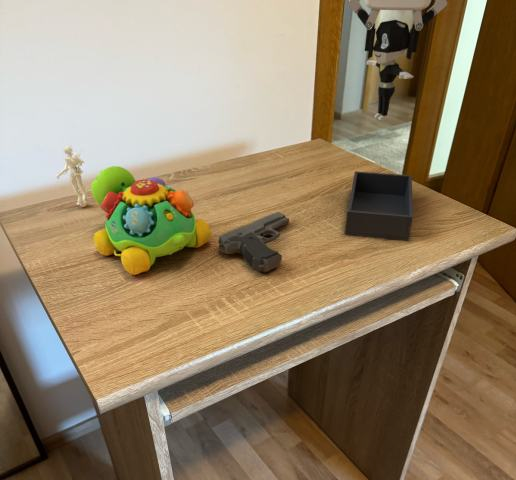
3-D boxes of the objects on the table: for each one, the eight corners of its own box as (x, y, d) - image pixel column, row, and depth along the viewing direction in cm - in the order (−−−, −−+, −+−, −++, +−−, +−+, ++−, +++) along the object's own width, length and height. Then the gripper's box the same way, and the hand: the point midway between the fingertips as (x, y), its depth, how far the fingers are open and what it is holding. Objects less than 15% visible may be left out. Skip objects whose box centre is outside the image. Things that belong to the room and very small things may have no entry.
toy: (349, 109, 93) (357, 15, 83) (377, 106, 94) (389, 13, 84) (384, 131, 83) (398, 27, 73) (415, 126, 84) (433, 24, 74)
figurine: (61, 205, 98) (43, 145, 90) (90, 198, 101) (75, 138, 93) (69, 215, 95) (51, 153, 87) (99, 207, 97) (84, 146, 89)
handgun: (327, 229, 85) (276, 206, 91) (263, 260, 75) (211, 233, 82) (325, 245, 87) (275, 222, 93) (262, 278, 77) (211, 250, 84)
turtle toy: (148, 207, 97) (137, 147, 89) (225, 249, 85) (220, 183, 77) (70, 237, 88) (51, 174, 81) (143, 289, 76) (129, 219, 68)
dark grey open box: (407, 196, 99) (411, 175, 96) (408, 240, 86) (413, 217, 83) (352, 192, 101) (354, 171, 98) (344, 234, 88) (347, 211, 85)
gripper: (347, -85, 69) (336, 60, 81) (475, -88, 66) (443, 63, 78) (351, -86, 74) (339, 50, 86) (469, -88, 71) (440, 53, 83)
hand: (389, 55), depth 82 cm, fingers closed on toy, 5 cm apart
